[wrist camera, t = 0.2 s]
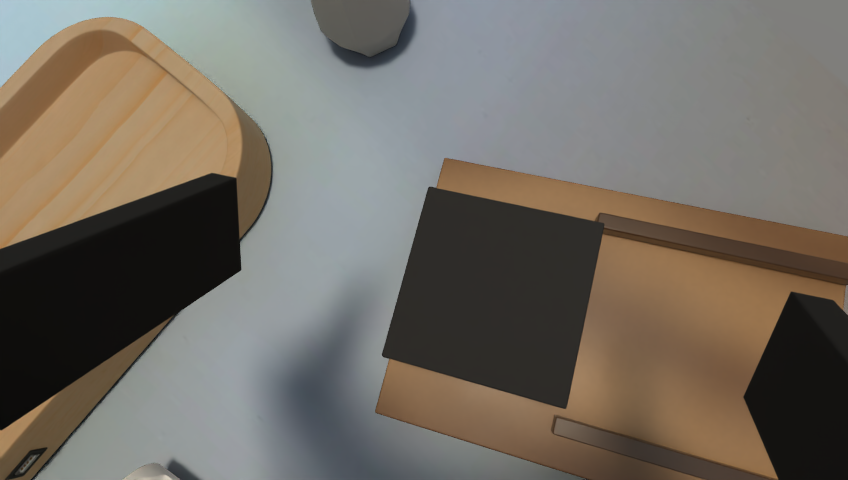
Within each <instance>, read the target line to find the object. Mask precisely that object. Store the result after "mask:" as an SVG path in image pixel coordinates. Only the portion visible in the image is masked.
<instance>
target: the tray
mask: <svg viewBox="0 0 848 480" xmlns="http://www.w3.org/2000/svg"><path fill="white" fill-rule="evenodd" d="M436 188H439V189H444V190H448V191H453V192H458V193H463V194H467V195H472V196H477V197H482V198H487V199H491V200H496V201H501V202H506V203H511V204H515V205H520V206H525V207H530V208H534V209H539V210H544V211H549V212H554V213H558V214H563V215H568V216H573V217H577V218H582V219H587V220H592V221H597V222H601V223H604V225H605V226H604V230H603V235H602V240H601V245H600V250H599V255H598V259H597V264H596V269H595V274H594V279H593V284H592V288H591V293H590V298H589V303H588V308H587V313H586V317H585V322H584V327H583V332H582V337H581V342H580V346H579V351H578V356H577V361H576V366H575V371H574V375H573V380H572V385H571V390H570V395H569V399H568V404H567V408H566V409H563V408H559V407H556V406H552V405H549V404H545V403H542V402H538V401H535V400H531V399H528V398H524V397H521V396H517V395H514V394H511V393H507V392H504V391H500V390H497V389H493V388H490V387H486V386H483V385H479V384H476V383H472V382H469V381H465V380H462V379H458V378H455V377H451V376H448V375H445V374H441V373H438V372H434V371H431V370H427V369H424V368H420V367H417V366H413V365H410V364H406V363H403V362H399V361H396V360H392V359H389V362H388V366H387V370H386V373H385V377H384V381H383V384H382V388H381V392H380V395H379V399H378V403H377V406H376V410H375V413H377V414H381V415H384V416H387V417H390V418H393V419H397V420H400V421H403V422H406V423H409V424H413V425H416V426H419V427H422V428H425V429H429V430H432V431H435V432H438V433H441V434H444V435H448V436H451V437H454V438H457V439H460V440H464V441H467V442H470V443H473V444H476V445H480V446H483V447H486V448H489V449H492V450H496V451H499V452H502V453H505V454H508V455H511V456H515V457H518V458H521V459H524V460H527V461H531V462H534V463H537V464H540V465H543V466H547V467H550V468H553V469H556V470H559V471H563V472H566V473H569V474H572V475H575V476H579V477H582V478H585V479H588V480H778V477H777V475H776V473H775V470H774V468H773V466H772V463H771V461H770V459H769V456H768V454H767V452H766V449H765V447H764V444H763V442H762V440H761V437H760V435H759V433H758V430H757V428H756V426H755V423H754V421H753V419H752V416H751V414H750V412H749V409H748V407H747V405H746V402H745V400H744V398H743V396H744V394H745V392H746V390H747V388H748V385H749V383H750V381H751V379H752V376H753V374H754V372H755V370H756V368H757V365H758V363H759V361H760V359H761V356H762V354H763V352H764V350H765V348H766V345H767V343H768V341H769V339H770V337H771V334H772V332H773V330H774V328H775V325H776V323H777V321H778V319H779V317H780V314H781V312H782V310H783V308H784V305H785V303H786V301H787V299H788V297H789V294H790V292H791V291H792V292H797V293H802V294H806V295H811V296H816V297H821V298H826V299H831V300H834V301H835V302H836V303H837V304H838V306H839V307H840V308H841V309H842V310H843V306H844V297H845V288H846V285H848V237H847V236H842V235H837V234H832V233H827V232H822V231H817V230H812V229H807V228H801V227H796V226H791V225H786V224H781V223H776V222H771V221H766V220H760V219H755V218H750V217H745V216H740V215H735V214H730V213H725V212H720V211H714V210H709V209H704V208H699V207H694V206H689V205H684V204H679V203H673V202H668V201H663V200H658V199H653V198H648V197H643V196H638V195H633V194H627V193H622V192H617V191H612V190H607V189H602V188H597V187H592V186H586V185H581V184H576V183H571V182H566V181H561V180H556V179H551V178H546V177H540V176H535V175H530V174H525V173H520V172H515V171H510V170H505V169H500V168H494V167H489V166H484V165H479V164H474V163H469V162H464V161H459V160H453V159H448V158H445V159H444V162H443V165H442V169H441V173H440V176H439V180H438V184H437V187H436Z"/></svg>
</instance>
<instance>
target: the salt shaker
mask: <svg viewBox="0 0 848 480" xmlns="http://www.w3.org/2000/svg"><path fill="white" fill-rule="evenodd" d="M311 3H312V7H313V11H314V15H315V17H316V20H317V22H318V25H319V27H320V30H321V31H322V32H323V34H324V35H325V36H327V37H328V38H329V39H331V40H332V41H333V42H335V43H336V44H338V45H339V46H340V47H343V48H346V49H349V50H352V51H356V52H359V53H361V54H363V55H366V56H368V57H372V56H374V55H376V54H378V53H380V52H382V51H384V50H387V49H389V48H391V47H393V46H395V45H397V41H398V38H399V35H400V32H401V30H402V28H403V26H404V24H405V22H406V19H407V17H408V15H409V8H410V0H311Z"/></svg>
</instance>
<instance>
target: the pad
mask: <svg viewBox="0 0 848 480" xmlns="http://www.w3.org/2000/svg"><path fill="white" fill-rule="evenodd" d="M604 226H605V225H604V223H601V222H597V221H592V220H587V219H582V218H577V217H573V216H568V215H563V214H558V213H554V212H549V211H544V210H539V209H534V208H530V207H525V206H520V205H515V204H511V203H506V202H501V201H496V200H491V199H487V198H482V197H477V196H472V195H467V194H463V193H458V192H453V191H448V190H444V189H439V188H434V187H429V188H428V191H427V194H426V198H425V201H424V205H423V209H422V212H421V216H420V219H419V223H418V227H417V230H416V234H415V238H414V241H413V245H412V248H411V252H410V256H409V259H408V263H407V266H406V270H405V274H404V277H403V281H402V284H401V288H400V292H399V295H398V299H397V302H396V306H395V310H394V313H393V317H392V320H391V324H390V328H389V331H388V335H387V339H386V342H385V346H384V349H383V353H382V356H383V357H385V358H389V359H392V360H396V361H399V362H403V363H406V364H410V365H413V366H417V367H420V368H424V369H427V370H431V371H434V372H438V373H441V374H445V375H448V376H451V377H455V378H458V379H462V380H465V381H469V382H472V383H476V384H479V385H483V386H486V387H490V388H493V389H497V390H500V391H504V392H507V393H511V394H514V395H517V396H521V397H524V398H528V399H531V400H535V401H538V402H542V403H545V404H549V405H552V406H556V407H559V408H563V409H566V408H567V404H568V399H569V395H570V390H571V385H572V380H573V375H574V371H575V366H576V361H577V356H578V351H579V346H580V342H581V337H582V332H583V327H584V322H585V317H586V313H587V308H588V303H589V298H590V293H591V288H592V284H593V279H594V274H595V269H596V264H597V259H598V255H599V250H600V245H601V240H602V235H603V230H604Z"/></svg>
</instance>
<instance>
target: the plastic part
mask: <svg viewBox="0 0 848 480" xmlns="http://www.w3.org/2000/svg"><path fill="white" fill-rule="evenodd" d="M123 480H180V479H179V478H178V477H176V476H175V475H174V474H172V473H171V472H170V471H168V470H167V469H166V468H164V467H163V466H162V465H160V464H159V463H151V464H147V465H144V466H142V467H140V468H138V469H137V470H135V471H133V472H132V473H131V474H129V475H128V476H127V477H125V478H124V479H123Z"/></svg>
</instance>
